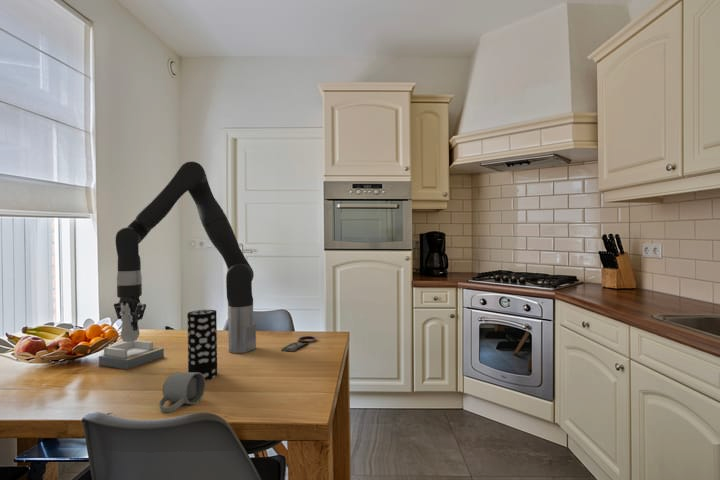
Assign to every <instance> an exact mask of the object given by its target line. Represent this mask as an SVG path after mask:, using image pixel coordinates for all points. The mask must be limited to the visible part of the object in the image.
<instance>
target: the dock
mask: <svg viewBox="0 0 720 480" xmlns="http://www.w3.org/2000/svg"><path fill="white" fill-rule="evenodd" d="M164 350H165V349H164V347H154V341H147V340H138V339H137V340H135V341H132V342H120V343H117V344H114V345H110V346H106V347H103V351H104V352H103V354H102V355H99V356H98V365H99V366H104V367H110V368H117V369H123V370H129V369H134V368H135V367H138V366H141V365H145V364H147V363H151V362H152V361H156V360H158V359H162V358H164V357H165V352H164Z"/></svg>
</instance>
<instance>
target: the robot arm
mask: <svg viewBox="0 0 720 480" xmlns="http://www.w3.org/2000/svg"><path fill="white" fill-rule="evenodd" d="M186 192H188V194H189V195H190V196H191V198H192V199H193V203H194V204H195V206H196V210H197V213H198V216H199V219H200V222H201V224H202V227H203V228H204V231H205V233H206V235H207V237H208V239H209V240H210V242H211V244H212V245H213V247H214V248H216V249H215V250H217V251H218V252H219V254H220V255H221V256H222V259H223V261H224V263H225V265H226V268H227V272H226V277H225V284H226V285H225V287H226V300H227V305H228V306H227V307H228V308H227V310H228V313H227V316H228V320H227V323H228V326H227V327H228V352H229V353H233V354H241V353H243V354H247V353H249V352H251V351H253V350H255V349H257V332H256V331H257V328H256V326H257V325H256V323H254V297H253V289H252V288H253V287H252V285H253V284H252V282H253V280H254V270H253V267H252V266H251V265H250V264H249V262H248V260H247V259H246V257H245V255H244V253H243V251H242V250H241V248H240V245H239V242H238V240H237V237H236V236H235V235H236V234H235V233H234V231H233V228H232V226H231V224H230V221H229V219H228V217H227V215H226V213H225V211H224V210H223V208H222V207H221V205H220V204H219V203H218V201H217V200H216V198H215V197H214V194H213V192H212V190H211V187H210V184H209V181H208V178H207V173H206V171H205V168H204V167H203V166H202V165H201V164H200V163H198V162H196V161H187V162H184V163H182V165H181V166H180V167H179V169H178V170H177V171H176V172H175V174H174V175H173V177H172V178H171V180H169V182H168V183H167V185H165V187H164V188H163V189H161V191H160V192H159V193H158V194H157V195H156V196H155V197H154V198H152V200H151V201H150V202H148V204H147V205H145V207H144V208H142V210H140V211H139V213H137V214H136V215H135V218H134V219H133V220H132V222H130V223H129V224H128V226H126V227H122V228H120V229H119V230H118V231H117V232H116V233H115V249H116V254H117V255H116V256H117V275H116V296H117V298H119V302H116V303H114V304H113V307H114V310H115V313H116V317H117V320H121V321H120V322H123V319H124V313H125V312H124V311H123V306H124V305H126V307H127V308H128V316H130V322H131V327H132V324H133V331H135V330H137V329H138V328H139V325H138V322H139V321H140V320H143V317H144V315H145V311H146V309H147V304H145V303H142V302H141V300H140V297H141V296H142V295H143V292H142V291H143V288H142V287H143V283H142V282H143V281H142V280H143V279H142V278H143V277H142V271H141V269H142V268H141V267H142V266H141V264H142V263H141V262H142V261H141V257H140V255H139V253H140V252H139V250H140V249H139V245H140V243H142V241H143V240H144V239H145V238H146V237H147V236H148V234H149V233H150V232H151V231H152V230H153V229H155V227H156V226H157V225H159V223H160V222H161V221H162V220H163V219H165V218H166V216H167V215H168V214H169V213H170V211H171V210H172V209H173V207H174V206H175V204H176V203H177V202H178V201H179V199H181V197H183V195H184V194H186ZM132 312H135V313H132ZM133 315H135V316H134V318H133Z"/></svg>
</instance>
